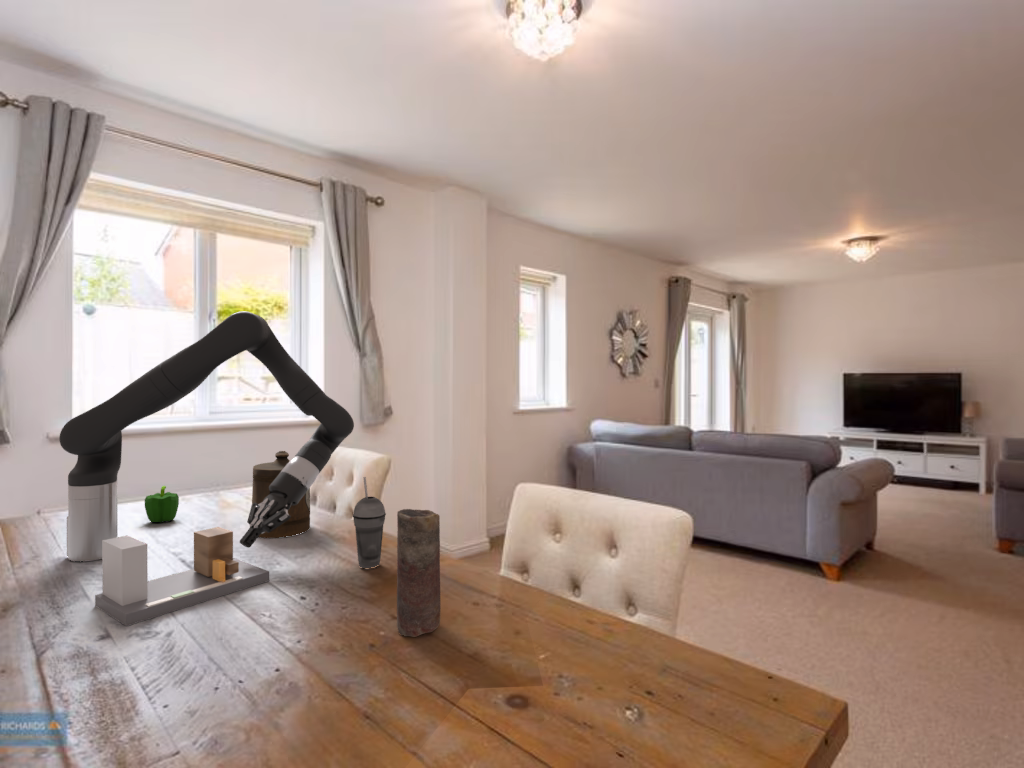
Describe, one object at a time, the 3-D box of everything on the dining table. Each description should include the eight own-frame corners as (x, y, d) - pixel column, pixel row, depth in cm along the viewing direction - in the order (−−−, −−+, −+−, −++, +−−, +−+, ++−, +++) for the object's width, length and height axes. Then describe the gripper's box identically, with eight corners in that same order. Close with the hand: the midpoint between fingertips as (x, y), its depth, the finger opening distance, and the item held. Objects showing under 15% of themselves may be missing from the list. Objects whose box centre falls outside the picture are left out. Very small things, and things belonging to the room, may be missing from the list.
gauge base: (234, 567, 124) (234, 513, 124) (269, 580, 116) (269, 523, 116) (95, 605, 103) (94, 541, 103) (126, 626, 95) (126, 555, 94)
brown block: (218, 564, 119) (218, 526, 119) (245, 575, 113) (245, 535, 112) (193, 570, 115) (193, 532, 115) (221, 582, 109) (220, 541, 108)
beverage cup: (377, 572, 121) (377, 481, 121) (346, 570, 122) (346, 479, 122) (391, 561, 128) (391, 475, 128) (361, 559, 129) (362, 473, 129)
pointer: (218, 576, 111) (218, 559, 111) (229, 581, 109) (229, 563, 109) (212, 578, 110) (212, 560, 110) (223, 583, 108) (223, 564, 108)
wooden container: (321, 528, 155) (321, 450, 155) (273, 542, 143) (273, 456, 142) (288, 521, 163) (288, 446, 163) (240, 533, 151) (240, 451, 150)
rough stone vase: (399, 619, 98) (399, 506, 98) (441, 618, 99) (442, 505, 98) (394, 639, 90) (394, 517, 90) (439, 638, 91) (440, 516, 91)
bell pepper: (167, 525, 158) (167, 490, 157) (138, 525, 158) (138, 489, 158) (185, 517, 166) (185, 484, 166) (158, 517, 166) (157, 484, 166)
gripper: (268, 467, 132) (216, 530, 122) (301, 473, 124) (248, 541, 114) (288, 486, 136) (239, 548, 127) (321, 493, 129) (272, 560, 119)
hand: (244, 545), depth 120 cm, fingers closed
